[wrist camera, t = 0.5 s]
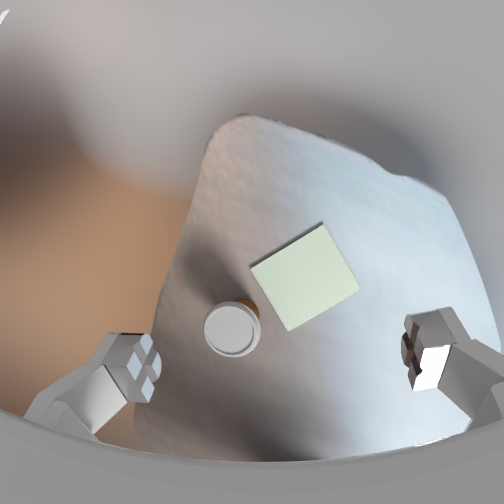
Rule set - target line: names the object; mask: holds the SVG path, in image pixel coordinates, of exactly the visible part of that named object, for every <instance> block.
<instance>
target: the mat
mask: <svg viewBox="0 0 504 504" xmlns="http://www.w3.org/2000/svg"><path fill="white" fill-rule="evenodd" d="M251 271H252V273H253V274H254V276H255V278H256V279H257V281H258V283H259V284H260V286H261V287H262V289H263V291H264V292H265V294H266V296H267V297H268V299H269V301H270V302H271V304H272V306H273V307H274V309H275V311H276V312H277V314H278V316H279V317H280V319H281V320H282V322H283V324H284V325H285V327H286V329H287V330H288V331H290V330H292V329H294V328H295V327H297V326H299V325H301V324H303V323H304V322H306V321H308V320H310V319H311V318H313V317H315V316H317V315H318V314H320V313H322V312H323V311H325V310H327V309H329V308H330V307H332V306H334V305H335V304H337V303H339V302H340V301H342V300H344V299H345V298H347V297H349V296H350V295H352V294H353V293H355V292H357V291H358V290H360V289H361V288H360V286H359V284H358V282H357V280H356V279H355V277H354V275H353V273H352V272H351V270H350V268H349V266H348V265H347V263H346V261H345V259H344V258H343V256H342V254H341V252H340V251H339V249H338V247H337V246H336V244H335V242H334V241H333V239H332V237H331V236H330V234H329V232H328V231H327V229H326V227H325V226H324V224H323V225H322V226H320V227H318V228H317V229H315V230H313V231H312V232H310V233H308V234H307V235H305V236H304V237H302V238H300V239H299V240H297V241H295V242H294V243H292V244H290V245H289V246H287V247H286V248H284V249H282V250H281V251H279V252H277V253H276V254H274V255H272V256H271V257H269V258H267V259H266V260H264V261H262V262H261V263H259V264H258V265H256V266H254V267H253V268H251Z"/></svg>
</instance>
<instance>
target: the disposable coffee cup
mask: <svg viewBox="0 0 504 504" xmlns="http://www.w3.org/2000/svg"><path fill="white" fill-rule="evenodd" d="M203 330H204V335H205V338H206V341H207V343H208V344H209V346H210V347H211V348H212V349H213V350H214V351H216V352H217V353H219V354H221V355H223V356H227V357H240V356H244V355H246V354H248V353H250V352H251V351H252V350H253V349H254V348H255V347H256V345H257V344H258V342H259V339H260V335H261V327H260V323H259V311H258V308H257V307H256V305H255V304H254V303H252V302H251V301H248V300H243V299H242V300H237V301H234V302H231V301H228V302H223V303H220V304H217V305H216V306H214V307H213V308H212V309H211V310H210V311H209V312H208V313H207V315H206V317H205V320H204V326H203Z"/></svg>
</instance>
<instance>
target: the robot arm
mask: <svg viewBox="0 0 504 504" xmlns="http://www.w3.org/2000/svg"><path fill="white" fill-rule="evenodd" d="M404 326H405V329H406V332H405V333H404V334H403V335H402V341H401V354H402V359H403V362H404V365H406V366H407V367H409V372H408V377H409V381H410V384H411V387H412V390H413V391H416V390H422V389H427V388H433V387H437V388H438V389H439V390H440V391H442V392H443V393H444V394H445V395H446V396H447V397H448V398H449V399H450V400H452V401H453V402H454V403H455V404H456V405H457V406H458V407H459V408H460V409H461V410H463V411H464V412H465V413H466V414H467V415H468V416H469V417H470V418H471V419H472V420H473V421H472V422H471V424H470V426H469V427H468V429H467V431H466V432H464V433H460V434H457V435H454V436H450V437H447V438H443V439H439V440H436V441H432V442H428V443H424V444H419V445H415V446H411V447H406V448H401V449H396V450H391V451H385V452H380V453H373V454H367V455H360V456H352V457H344V458H335V459H324V460H311V461H291V462H240V461H220V460H206V459H195V458H186V457H177V456H170V455H163V454H156V453H150V452H144V451H138V450H133V449H128V448H123V447H118V446H114V445H109V444H105V443H101V442H100V441H99V440H98V439H97V438H96V437H95V436H94V435H93V434H94V433H95V432H97V430H99V429H100V428H101V427H102V426H103V425H104V424H105V423H106V422H107V421H108V420H109V419H110V418H112V417H113V416H114V415H115V414H116V413H117V412H118V411H119V410H120V409H121V408H122V407H123V406H124V405H125V404H126V403H127V401H131V402H142V403H149V401H150V398H151V396H152V393H153V391H154V386H153V382H155V381H156V380H157V379H158V378H159V376H160V373H161V359H160V356H159V354H158V352H157V351H156V350H154V349H153V348H152V344H153V341H152V339H151V337H150V335H148V334H144V333H114V332H110V333H108V334H107V335H106V336H105V338H104V339H103V341H102V342H101V344H100V346H99V347H98V349H97V350H96V352H95V354H94V355H93V357H92V358H91V360H90V362H89V363H84V364H83V365H81V366H80V367H78V368H77V369H75V370H74V371H72V372H71V373H69V374H68V375H66V376H65V377H63V378H62V379H60V380H59V381H57V382H55V383H54V384H52V385H51V386H49V387H48V388H46V389H45V390H43V391H42V392H40V393H39V394H38V395H37V396H36V398H35V399H34V401H33V403H32V404H31V406H30V407H29V409H28V411H27V412H26V414H25V416H24V417H23V418H21V417H19V416H16V415H14V414H11V413H9V412H6V411H4V410H2V409H0V504H504V356H503V355H502V354H500V353H498V352H497V351H495V350H493V349H491V348H490V347H488V346H486V345H484V344H483V343H481V342H479V341H477V340H476V339H474V340H471V339H470V337H469V335H468V333H467V332H466V330H465V328H464V327H463V325H462V323H461V322H460V320H459V318H458V317H457V315H456V313H455V312H454V310H453V309H452V308H451V307H446V308H441V309H436V310H432V311H426V312H420V313H414V314H408V315H406V318H405V322H404Z"/></svg>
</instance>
